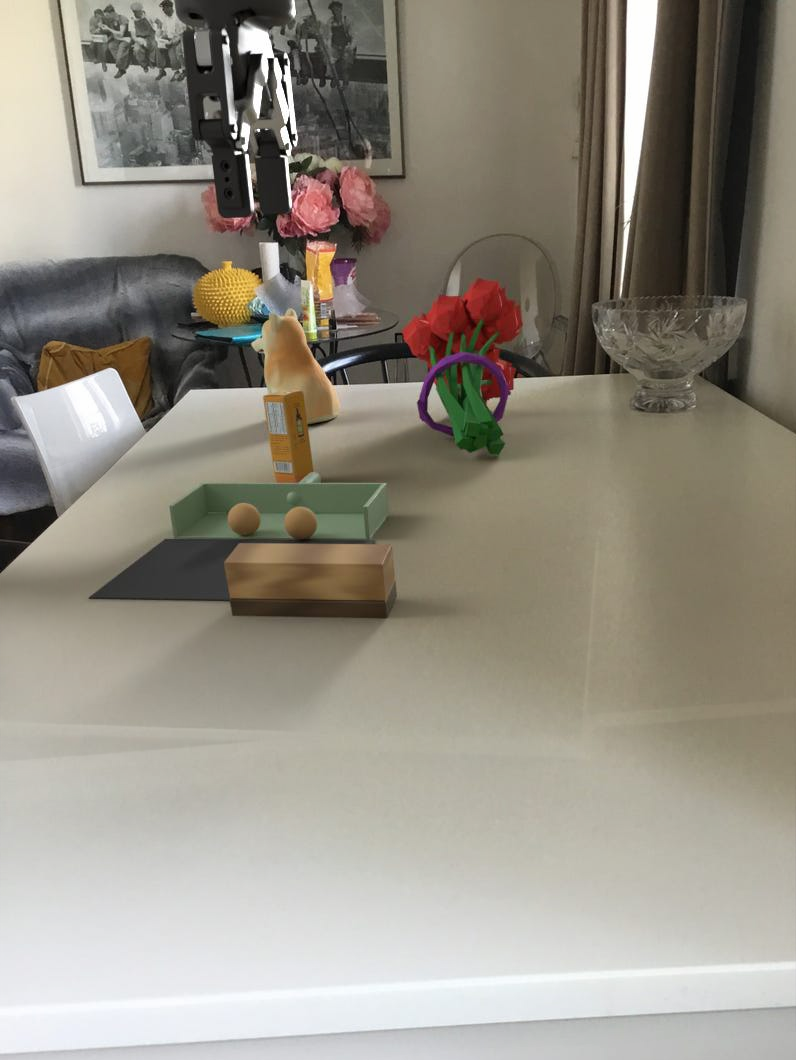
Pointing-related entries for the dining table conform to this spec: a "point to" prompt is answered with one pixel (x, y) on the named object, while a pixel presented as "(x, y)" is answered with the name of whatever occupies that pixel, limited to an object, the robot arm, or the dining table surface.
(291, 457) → the supplement box
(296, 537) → the ball
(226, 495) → the dustpan
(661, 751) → the dining table surface
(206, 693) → the dining table surface
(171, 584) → the mat
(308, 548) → the brush
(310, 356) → the figurine
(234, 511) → the ball
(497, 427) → the bouquet
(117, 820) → the dining table surface
